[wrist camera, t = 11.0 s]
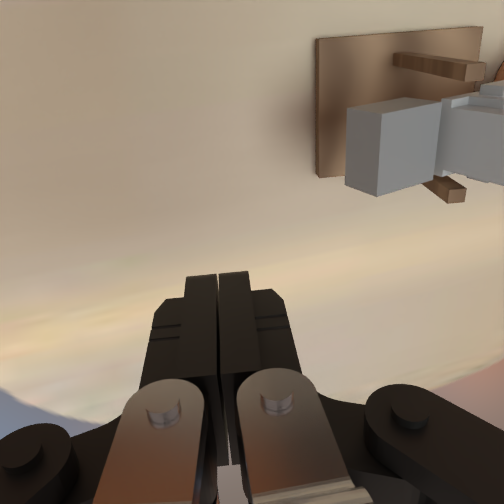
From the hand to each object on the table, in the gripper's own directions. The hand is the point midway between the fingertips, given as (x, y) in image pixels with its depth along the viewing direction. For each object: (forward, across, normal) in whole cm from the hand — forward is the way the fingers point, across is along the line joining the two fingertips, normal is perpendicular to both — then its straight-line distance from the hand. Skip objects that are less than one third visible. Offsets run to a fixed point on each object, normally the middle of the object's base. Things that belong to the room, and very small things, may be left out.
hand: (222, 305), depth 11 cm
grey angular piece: (+23, +17, -1) cm, 28 cm away
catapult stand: (+33, +16, -2) cm, 37 cm away
